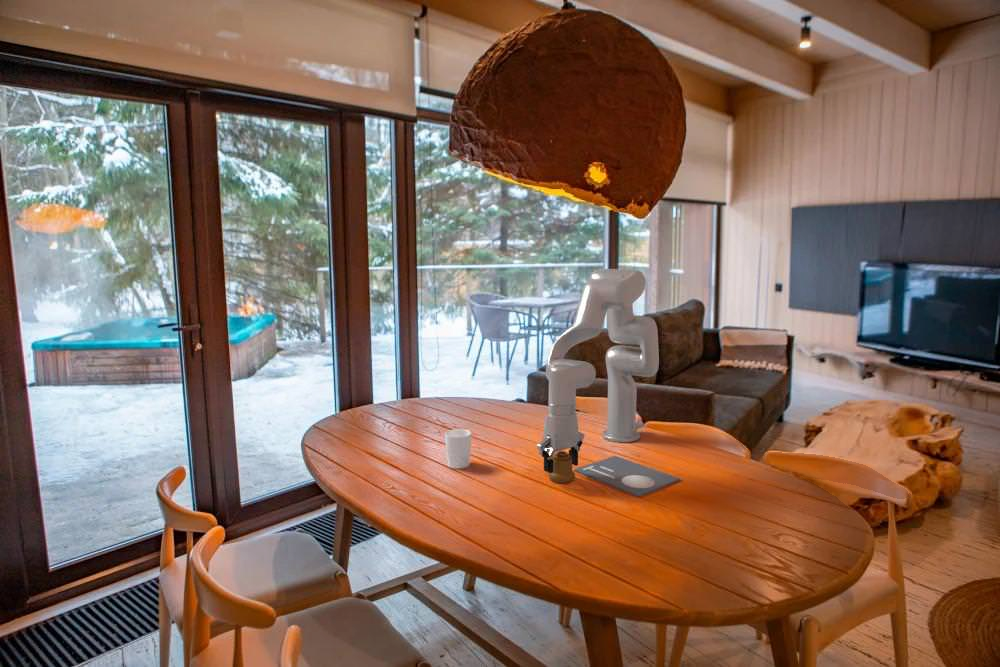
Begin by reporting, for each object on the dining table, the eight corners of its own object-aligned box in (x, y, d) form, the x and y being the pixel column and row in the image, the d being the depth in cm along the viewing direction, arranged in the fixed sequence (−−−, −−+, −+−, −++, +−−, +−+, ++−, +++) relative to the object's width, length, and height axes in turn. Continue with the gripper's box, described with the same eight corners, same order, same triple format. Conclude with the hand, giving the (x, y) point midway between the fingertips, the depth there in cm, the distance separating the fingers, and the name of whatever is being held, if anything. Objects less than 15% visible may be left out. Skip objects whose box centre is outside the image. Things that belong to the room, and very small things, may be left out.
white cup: (465, 471, 184) (465, 438, 183) (441, 468, 187) (440, 435, 185) (475, 461, 192) (474, 430, 190) (451, 459, 194) (451, 428, 192)
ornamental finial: (555, 472, 182) (579, 477, 179) (543, 481, 176) (568, 486, 172) (555, 446, 181) (579, 450, 177) (544, 454, 175) (568, 458, 171)
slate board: (614, 457, 194) (614, 455, 194) (680, 480, 176) (680, 478, 176) (573, 471, 183) (573, 469, 183) (639, 497, 165) (639, 494, 165)
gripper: (574, 401, 182) (573, 458, 185) (529, 411, 172) (529, 471, 174) (593, 406, 177) (591, 465, 179) (548, 417, 166) (547, 479, 168)
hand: (561, 468), depth 176 cm, fingers open, 9 cm apart
